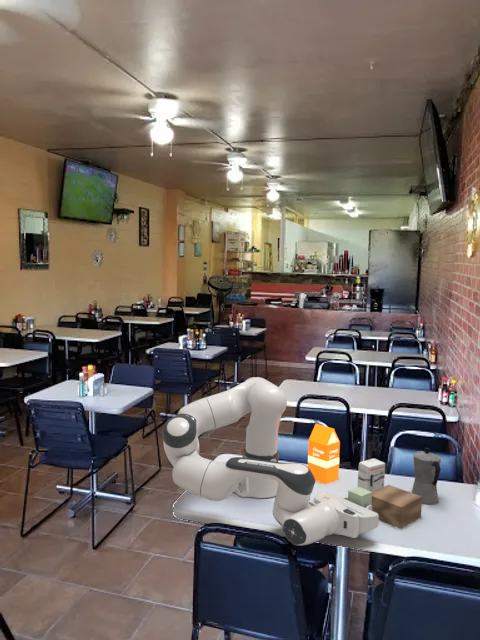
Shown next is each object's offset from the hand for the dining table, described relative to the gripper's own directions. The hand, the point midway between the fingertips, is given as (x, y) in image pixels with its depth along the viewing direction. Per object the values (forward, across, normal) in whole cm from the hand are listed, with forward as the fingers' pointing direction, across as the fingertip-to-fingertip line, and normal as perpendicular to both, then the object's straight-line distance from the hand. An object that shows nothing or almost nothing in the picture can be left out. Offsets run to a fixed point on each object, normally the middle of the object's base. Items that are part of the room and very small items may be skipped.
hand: (361, 503), depth 154 cm
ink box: (+20, -11, -7) cm, 24 cm away
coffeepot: (+32, +3, -7) cm, 33 cm away
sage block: (-1, 0, -6) cm, 6 cm away
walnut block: (+13, +3, -7) cm, 15 cm away
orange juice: (+18, -31, -7) cm, 37 cm away
